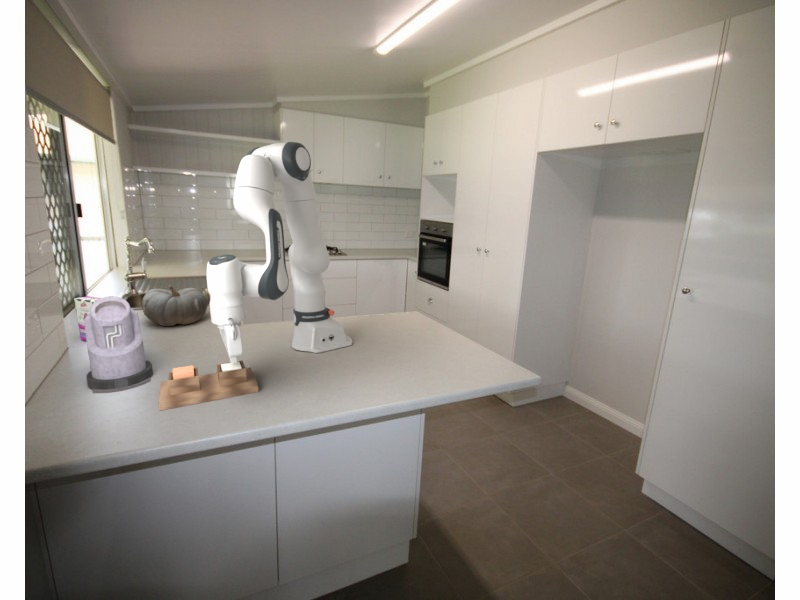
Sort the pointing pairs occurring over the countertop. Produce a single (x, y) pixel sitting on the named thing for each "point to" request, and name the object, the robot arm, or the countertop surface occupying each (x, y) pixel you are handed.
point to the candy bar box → (83, 312)
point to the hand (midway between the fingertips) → (233, 360)
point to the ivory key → (230, 366)
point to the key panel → (206, 387)
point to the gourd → (174, 306)
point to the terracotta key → (183, 372)
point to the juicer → (115, 347)
